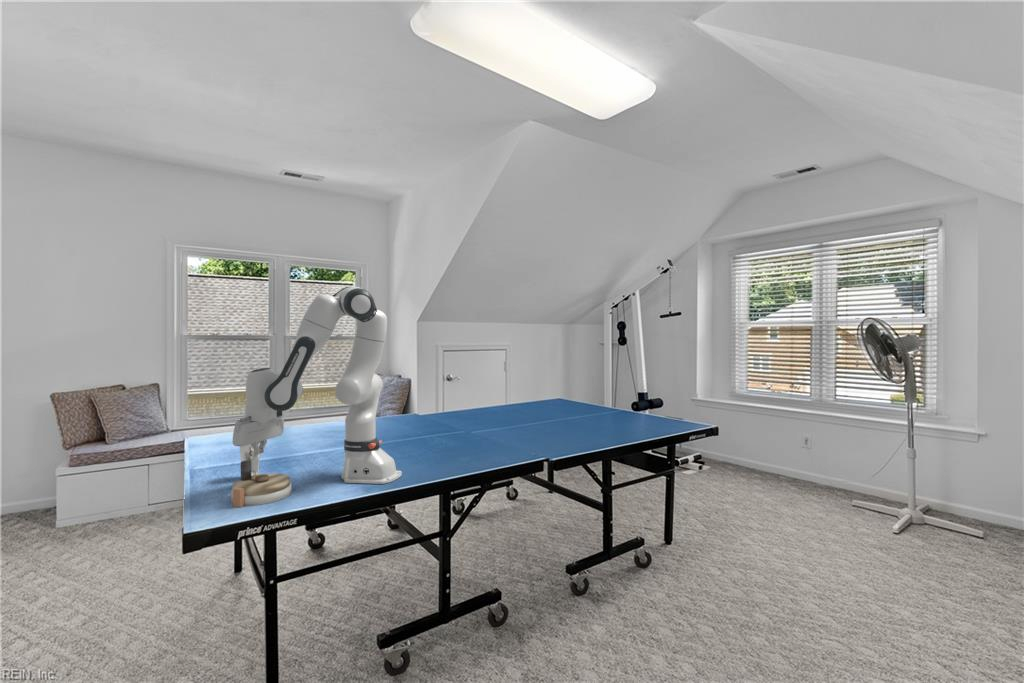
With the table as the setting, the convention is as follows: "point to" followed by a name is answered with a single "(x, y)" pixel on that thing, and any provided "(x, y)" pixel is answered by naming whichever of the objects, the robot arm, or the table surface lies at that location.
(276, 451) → the table surface
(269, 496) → the stand
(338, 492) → the table surface
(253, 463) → the beer glass
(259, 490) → the tan disc with handle
